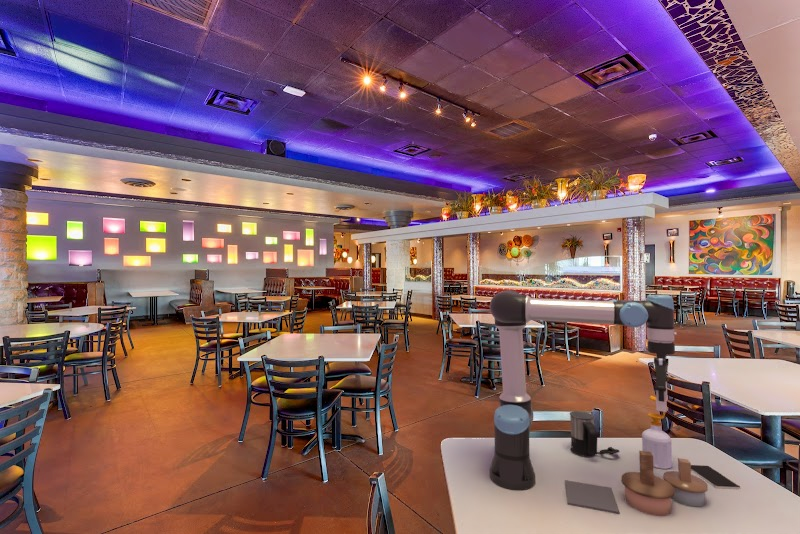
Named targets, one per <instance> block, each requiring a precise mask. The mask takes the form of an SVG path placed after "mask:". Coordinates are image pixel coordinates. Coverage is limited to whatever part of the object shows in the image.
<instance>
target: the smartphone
mask: <svg viewBox="0 0 800 534" xmlns="http://www.w3.org/2000/svg"><path fill="white" fill-rule="evenodd" d="M691 472H693V473H694V474H696V475H697V477H699V478H700V479H702V480H703V481H705V482H706V483H707V484H709V486H712V487H714V488H715V489H719V490H721V489H722V490H739V489H740V490H741V486H740V485H739V484H737V483H736V482H734V481H732V480H731V479H730V478H728V477H726V476H724V475H723V474H722V473H720V472H719V471H717V470H716V469H714V468H712V467H710V466H709V465H697V464H691Z"/></svg>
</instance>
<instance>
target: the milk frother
mask: <svg viewBox="0 0 800 534" xmlns="http://www.w3.org/2000/svg"><path fill="white" fill-rule="evenodd" d="M569 415H570V418H569V419H570V451H571V452H572V454H575V455H577V456H581V457H585V458H586V457H587V458H590V457H595V456H596V455H603V454H604V455H605V454H606V455H614V454H618V453H620V449H616V448H613V446H608V447H607V448H605V449H601V450H599V451H598V431H597V427H596V426H595V418H596V416H595V415H594V414H592V413H590V412H586V411H582V410H581V411H580V410H579V411H578V410H575V411H570V412H569Z"/></svg>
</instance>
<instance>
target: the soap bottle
mask: <svg viewBox="0 0 800 534" xmlns="http://www.w3.org/2000/svg"><path fill="white" fill-rule="evenodd" d="M649 400H652V401H654V402H656V396H654V395H649ZM647 415H648V417H649V418H651V419H652V421H650V428H648V429H645V430H644V431H643V432H642V433H641V441H642V445H641V446H642V451H648V452H651V453H652V455H653V467H654V468H656V469H663V470H667V469H668V470H669V469H671V468H672V467H673V453H672V452H673V450H672V438H671V437H670V435H669V434H668V433H666V432H665V431H663V429H662V423H661V422H659V421H660V420H663V419H664V418H665V415H666V412H663V411H662V414H659V413H653V412H649V413H648V414H647Z"/></svg>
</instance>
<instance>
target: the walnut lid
mask: <svg viewBox="0 0 800 534" xmlns="http://www.w3.org/2000/svg"><path fill="white" fill-rule="evenodd" d="M638 454H639V455H638V456H639V471H629V472H624V473H623V474H622V475H621V478H620V479H621V484H622V485H623V486H624V488H625V487H626V488H628V489H629V490H631V491H633V492H635V493H637V494H640V495H642V496H646V497H650V498H655V499H668V498H671V497H673V496H674V488H673V486H672V485H671V484H670V483H669V482H667V481H665V480H664V479H663V478H661V477H659V476H656V475H655V474H654V473H655V472H654V471H655V470H654V468H655V467H653V455H652V453H651V452H648V451H643V450H639V453H638Z"/></svg>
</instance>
